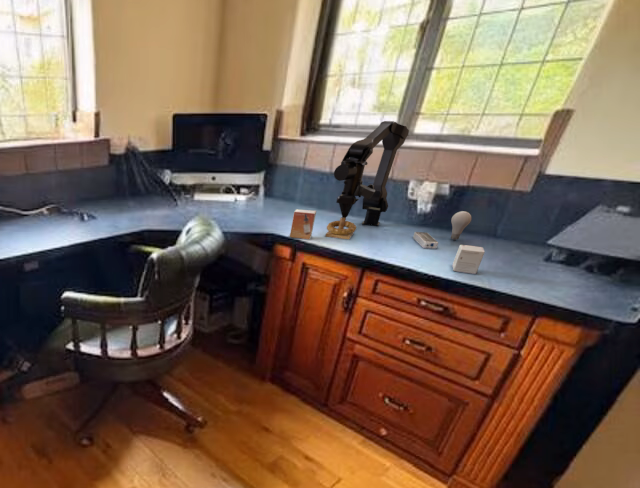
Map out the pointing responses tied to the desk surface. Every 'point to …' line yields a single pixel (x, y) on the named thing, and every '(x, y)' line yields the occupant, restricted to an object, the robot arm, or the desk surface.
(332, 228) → the ring
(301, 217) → the small box
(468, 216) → the lightbulb
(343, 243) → the desk surface
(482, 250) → the product box
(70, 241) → the desk surface
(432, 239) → the multiport hub
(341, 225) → the peg stand
